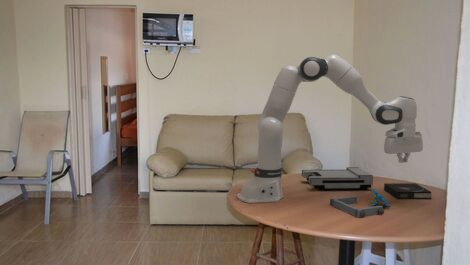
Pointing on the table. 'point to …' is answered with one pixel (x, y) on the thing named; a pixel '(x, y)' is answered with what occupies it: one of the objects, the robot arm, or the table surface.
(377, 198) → the gear
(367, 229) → the table surface
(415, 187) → the portable cd player
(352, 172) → the game console
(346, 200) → the u-shaped wheeled base
